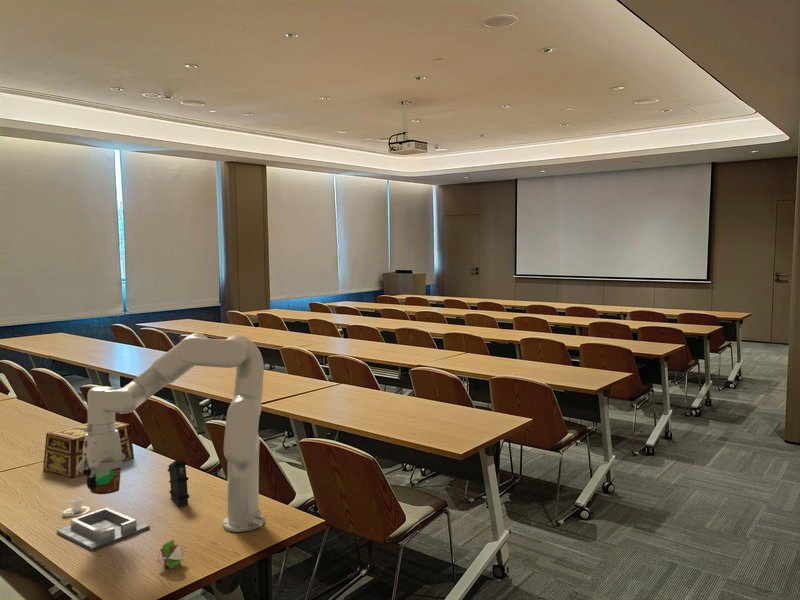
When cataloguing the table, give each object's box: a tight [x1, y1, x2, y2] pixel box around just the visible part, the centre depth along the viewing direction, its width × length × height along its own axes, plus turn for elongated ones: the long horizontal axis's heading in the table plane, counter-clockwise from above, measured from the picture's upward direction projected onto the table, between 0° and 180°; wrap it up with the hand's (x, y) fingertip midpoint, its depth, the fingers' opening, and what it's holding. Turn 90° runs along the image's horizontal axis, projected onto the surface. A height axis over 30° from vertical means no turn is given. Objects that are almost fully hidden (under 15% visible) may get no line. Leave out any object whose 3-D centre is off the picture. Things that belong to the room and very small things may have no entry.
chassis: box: [56, 507, 151, 552], centre depth 183 cm, size 20×18×4 cm
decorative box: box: [42, 420, 135, 479], centre depth 243 cm, size 28×19×15 cm
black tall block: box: [167, 458, 190, 508], centre depth 207 cm, size 4×13×15 cm, turn 35°
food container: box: [86, 460, 124, 495], centre depth 182 cm, size 12×6×10 cm, turn 67°
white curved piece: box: [61, 498, 91, 517], centre depth 197 cm, size 9×8×4 cm
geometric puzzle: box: [156, 539, 186, 571], centre depth 163 cm, size 7×7×8 cm
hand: (101, 485), depth 183 cm, fingers closed on food container, 5 cm apart
